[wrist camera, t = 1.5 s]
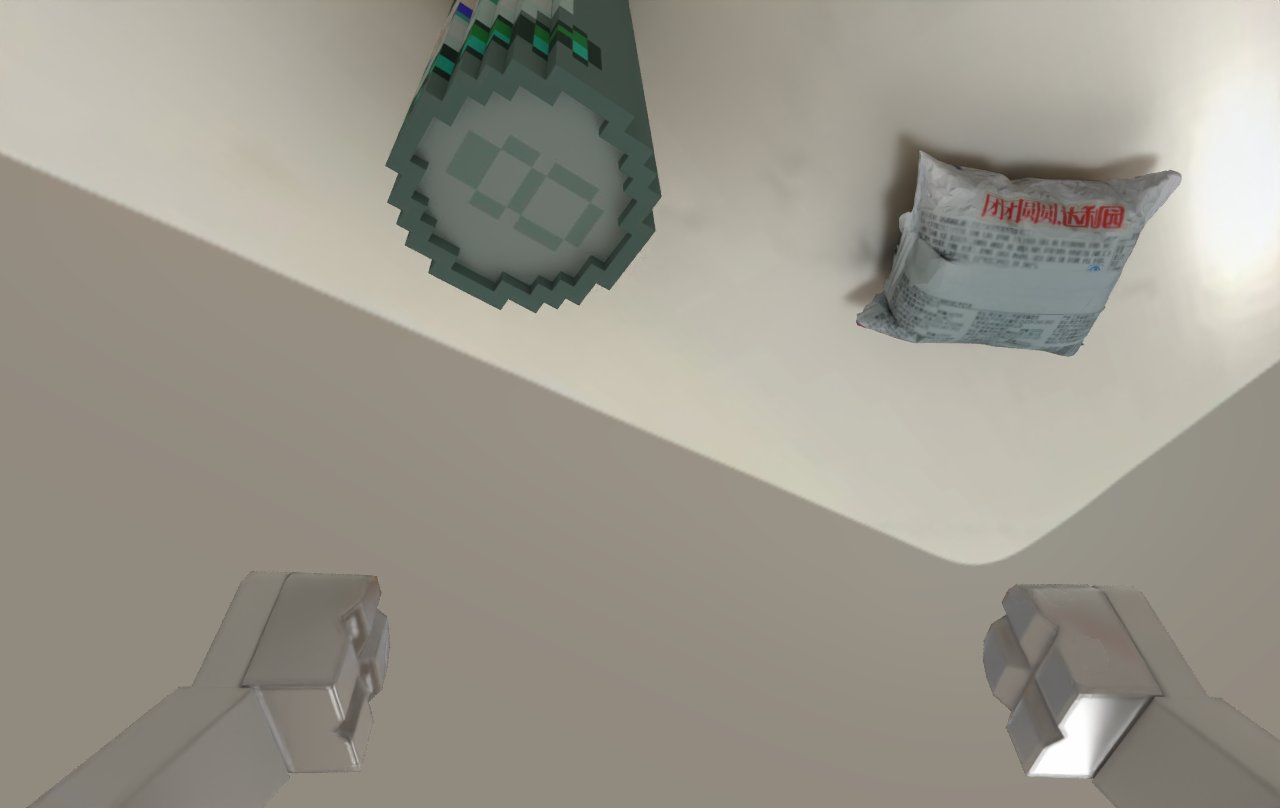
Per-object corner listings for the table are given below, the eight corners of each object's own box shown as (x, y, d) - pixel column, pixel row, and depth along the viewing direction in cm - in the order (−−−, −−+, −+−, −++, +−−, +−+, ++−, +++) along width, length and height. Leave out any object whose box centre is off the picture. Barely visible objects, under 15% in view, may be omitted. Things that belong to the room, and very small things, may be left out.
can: (513, -118, 28) (469, 6, 16) (658, -8, 30) (706, 165, 19) (433, 38, 31) (350, 233, 20) (571, 126, 33) (567, 344, 22)
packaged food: (901, 126, 34) (940, 180, 30) (1160, 153, 36) (1227, 208, 32) (841, 300, 40) (868, 363, 36) (1067, 317, 41) (1115, 380, 38)
